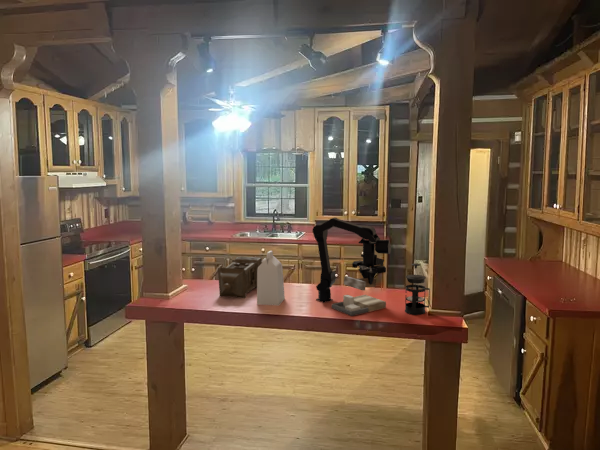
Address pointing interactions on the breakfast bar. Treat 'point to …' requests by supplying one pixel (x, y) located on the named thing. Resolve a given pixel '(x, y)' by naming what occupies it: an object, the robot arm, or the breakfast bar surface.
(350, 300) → the tile
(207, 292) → the breakfast bar surface
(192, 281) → the breakfast bar surface
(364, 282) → the scraper
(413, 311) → the french press
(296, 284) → the breakfast bar surface
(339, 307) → the box
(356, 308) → the tile
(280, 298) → the milk
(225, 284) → the ornamental box
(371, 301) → the deck
